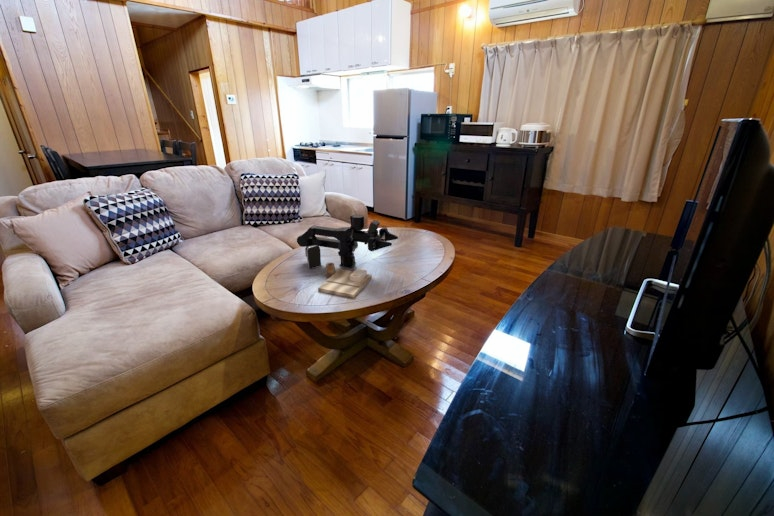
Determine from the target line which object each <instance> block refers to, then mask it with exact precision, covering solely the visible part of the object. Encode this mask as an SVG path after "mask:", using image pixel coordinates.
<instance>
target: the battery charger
mask: <svg viewBox="0 0 774 516" xmlns="http://www.w3.org/2000/svg"><path fill="white" fill-rule="evenodd" d="M304 248H305V249H304V250H305V251H304V252H305V257H306V260H307V268H308V269H309V270H312V269H316V268H318V267H322V261H321V256H322V255H321V246H318V245H311V246H307V247H304Z"/></svg>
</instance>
